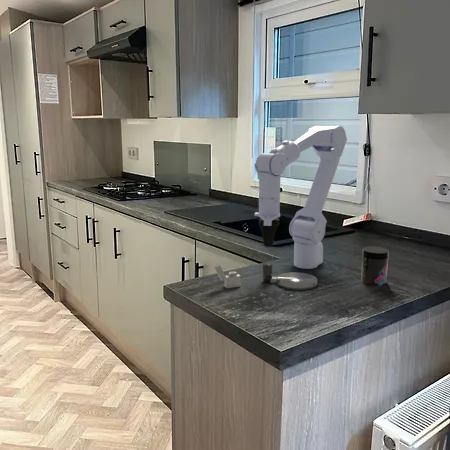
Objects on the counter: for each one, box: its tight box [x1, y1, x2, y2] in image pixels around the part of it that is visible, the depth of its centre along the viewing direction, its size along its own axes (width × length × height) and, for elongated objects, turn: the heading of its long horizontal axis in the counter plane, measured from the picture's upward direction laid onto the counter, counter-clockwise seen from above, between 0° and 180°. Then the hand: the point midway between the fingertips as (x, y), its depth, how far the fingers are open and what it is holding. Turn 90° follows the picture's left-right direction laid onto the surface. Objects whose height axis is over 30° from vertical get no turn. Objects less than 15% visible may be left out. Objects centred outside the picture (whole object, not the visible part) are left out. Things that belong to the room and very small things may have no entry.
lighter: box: [213, 263, 242, 289], centre depth 122 cm, size 7×2×8 cm, turn 112°
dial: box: [261, 262, 318, 291], centre depth 125 cm, size 15×11×5 cm
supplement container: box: [360, 246, 390, 287], centre depth 125 cm, size 7×7×10 cm
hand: (268, 245), depth 128 cm, fingers closed
